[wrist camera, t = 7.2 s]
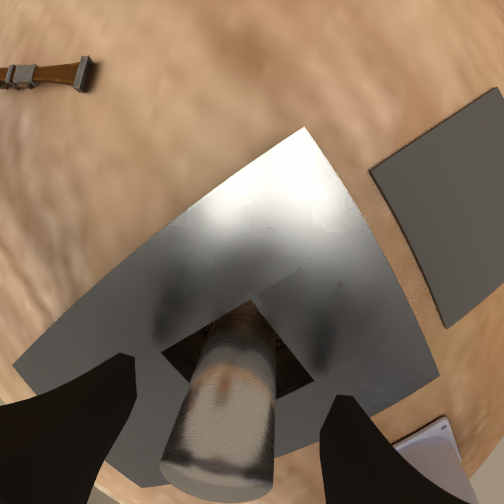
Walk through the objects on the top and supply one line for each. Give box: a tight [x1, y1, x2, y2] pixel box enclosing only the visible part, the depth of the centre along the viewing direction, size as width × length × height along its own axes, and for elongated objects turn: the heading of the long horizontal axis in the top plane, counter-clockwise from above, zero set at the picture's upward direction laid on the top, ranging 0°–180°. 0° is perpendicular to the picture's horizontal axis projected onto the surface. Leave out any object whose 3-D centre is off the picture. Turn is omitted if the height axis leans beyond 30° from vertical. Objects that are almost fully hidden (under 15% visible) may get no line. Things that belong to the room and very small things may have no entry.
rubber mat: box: [369, 87, 504, 329], centre depth 13 cm, size 10×10×1 cm
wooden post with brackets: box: [0, 55, 93, 93], centre depth 11 cm, size 2×8×4 cm, turn 78°
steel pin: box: [159, 299, 276, 503], centre depth 11 cm, size 3×3×10 cm
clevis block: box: [12, 127, 440, 488], centre depth 14 cm, size 12×20×4 cm, turn 125°
